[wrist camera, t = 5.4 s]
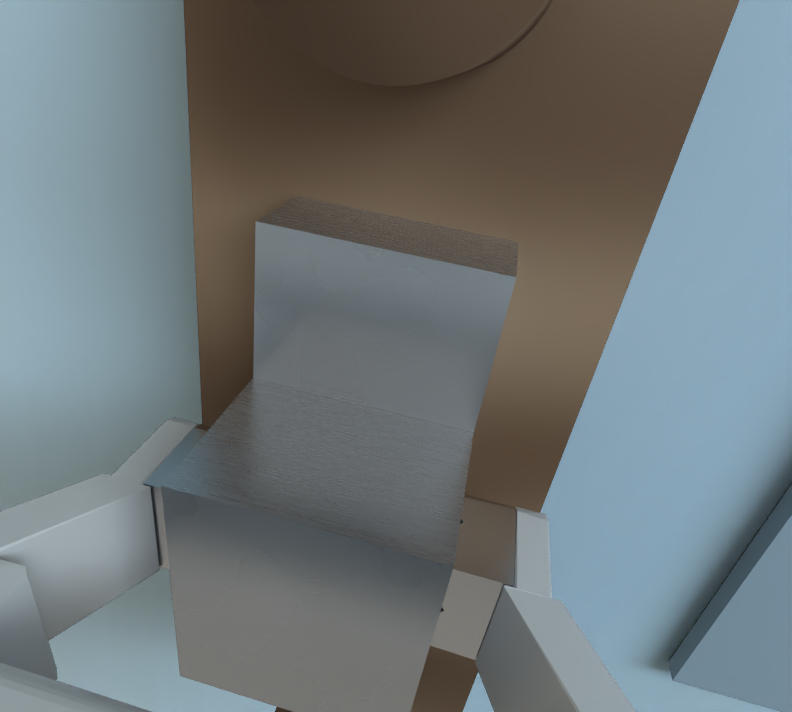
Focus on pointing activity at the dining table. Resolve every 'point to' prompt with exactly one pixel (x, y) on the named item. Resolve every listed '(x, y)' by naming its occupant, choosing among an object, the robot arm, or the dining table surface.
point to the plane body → (450, 179)
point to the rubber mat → (748, 624)
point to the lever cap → (337, 461)
